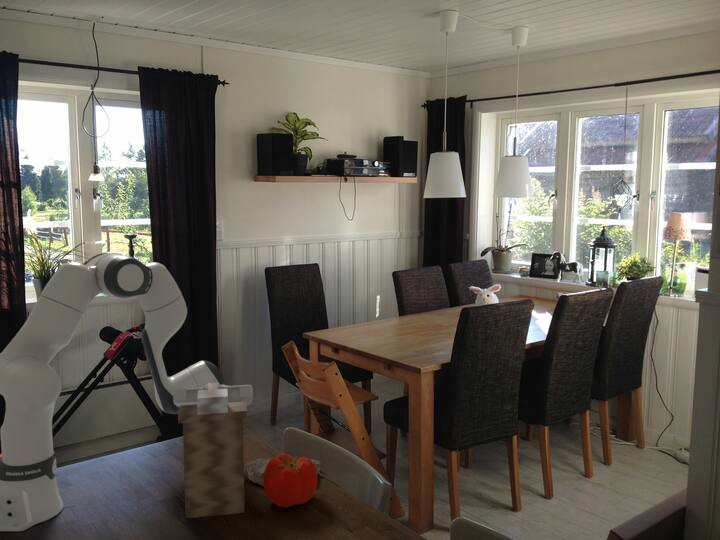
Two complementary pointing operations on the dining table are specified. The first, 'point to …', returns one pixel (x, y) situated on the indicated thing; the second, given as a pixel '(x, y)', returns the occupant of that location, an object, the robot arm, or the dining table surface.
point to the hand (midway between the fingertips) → (213, 389)
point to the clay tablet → (258, 468)
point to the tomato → (289, 480)
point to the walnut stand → (213, 460)
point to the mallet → (212, 400)
